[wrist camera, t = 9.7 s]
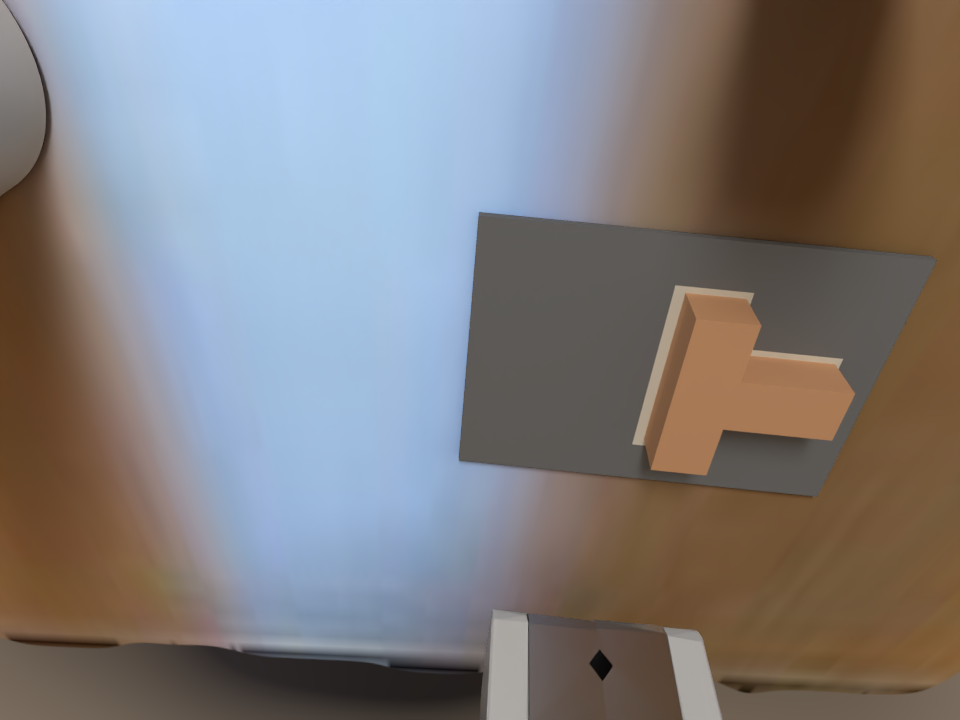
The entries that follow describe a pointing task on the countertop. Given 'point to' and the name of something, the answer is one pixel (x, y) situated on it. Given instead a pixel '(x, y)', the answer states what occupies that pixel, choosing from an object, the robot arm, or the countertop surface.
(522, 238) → the t mat
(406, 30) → the countertop surface
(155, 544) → the countertop surface
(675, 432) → the t block
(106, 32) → the countertop surface
